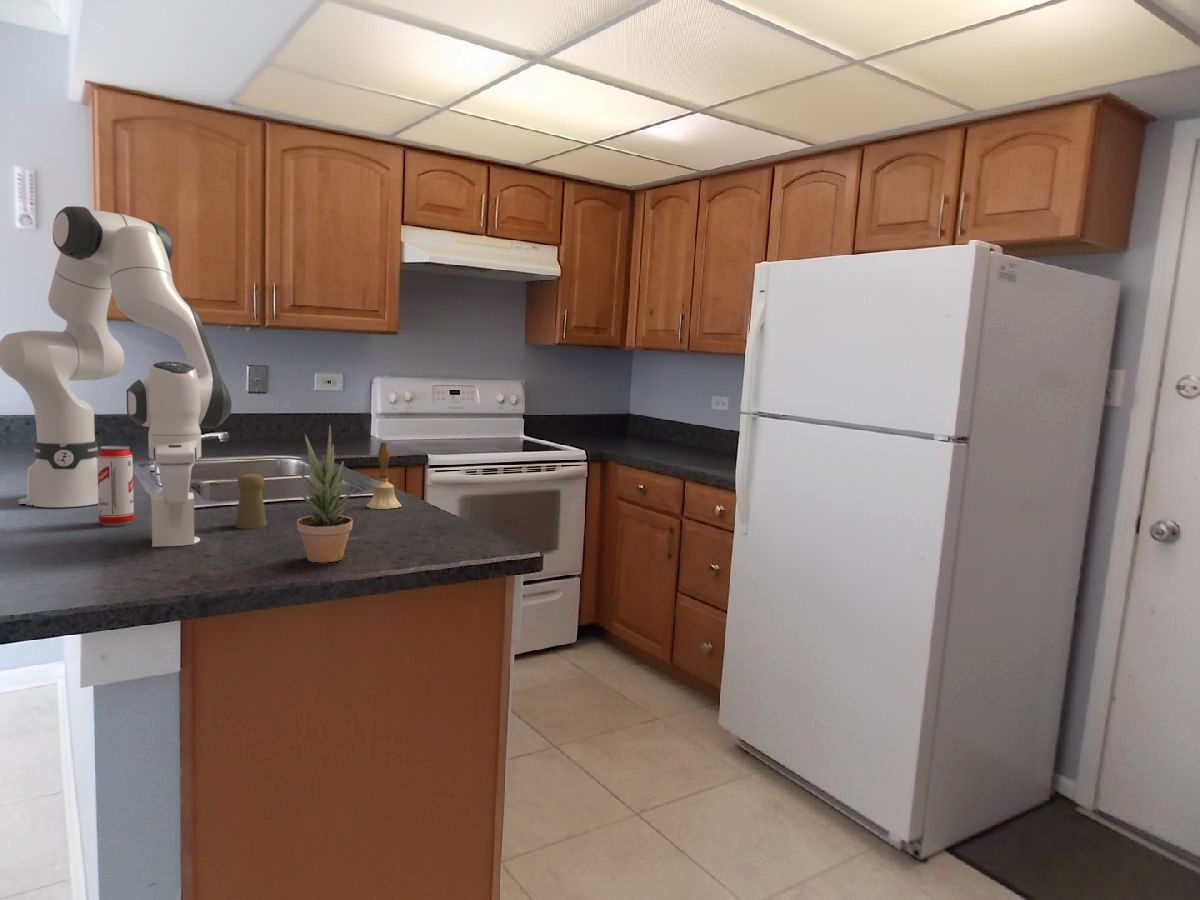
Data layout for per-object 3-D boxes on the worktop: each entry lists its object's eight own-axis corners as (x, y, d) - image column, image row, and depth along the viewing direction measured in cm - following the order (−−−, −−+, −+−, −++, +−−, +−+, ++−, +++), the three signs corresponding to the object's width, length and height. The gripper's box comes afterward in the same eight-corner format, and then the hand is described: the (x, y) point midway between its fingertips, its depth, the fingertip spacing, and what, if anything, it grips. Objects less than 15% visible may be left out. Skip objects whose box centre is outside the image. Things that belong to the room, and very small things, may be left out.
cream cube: (153, 538, 156) (152, 493, 155) (193, 536, 159) (193, 492, 158) (152, 547, 150) (151, 500, 149) (194, 544, 153) (193, 498, 152)
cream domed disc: (153, 538, 156) (153, 537, 156) (199, 535, 160) (199, 534, 160) (152, 547, 149) (152, 546, 149) (200, 544, 153) (200, 543, 153)
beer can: (129, 519, 172) (127, 444, 170) (137, 524, 167) (136, 448, 165) (95, 522, 167) (93, 446, 165) (103, 528, 163) (101, 449, 161)
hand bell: (382, 511, 192) (383, 444, 190) (359, 506, 196) (359, 441, 195) (408, 507, 199) (409, 442, 197) (385, 502, 203) (386, 439, 202)
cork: (257, 521, 175) (257, 471, 174) (272, 526, 171) (272, 474, 170) (230, 525, 170) (229, 473, 169) (244, 530, 167) (244, 477, 165)
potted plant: (298, 567, 140) (298, 426, 137) (295, 554, 149) (295, 421, 146) (358, 564, 144) (359, 426, 141) (351, 551, 153) (352, 421, 150)
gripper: (157, 442, 160) (158, 510, 162) (155, 455, 142) (156, 532, 144) (192, 442, 163) (193, 509, 165) (195, 455, 145) (196, 530, 147)
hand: (176, 520), depth 154 cm, fingers open, 8 cm apart
